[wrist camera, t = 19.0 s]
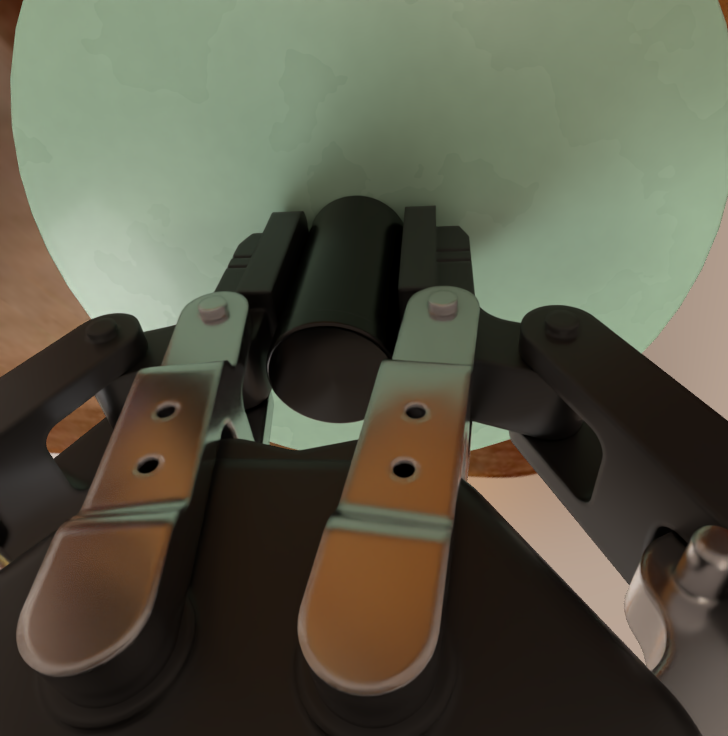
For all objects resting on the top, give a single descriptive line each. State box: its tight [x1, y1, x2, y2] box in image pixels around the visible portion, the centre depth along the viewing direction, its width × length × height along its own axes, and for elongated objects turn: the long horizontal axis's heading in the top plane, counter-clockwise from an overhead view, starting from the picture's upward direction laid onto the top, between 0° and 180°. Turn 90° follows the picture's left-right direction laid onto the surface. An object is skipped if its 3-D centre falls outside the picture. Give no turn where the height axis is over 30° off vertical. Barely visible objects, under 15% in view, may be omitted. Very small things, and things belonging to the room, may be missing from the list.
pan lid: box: [10, 0, 728, 450], centre depth 12 cm, size 16×16×6 cm
